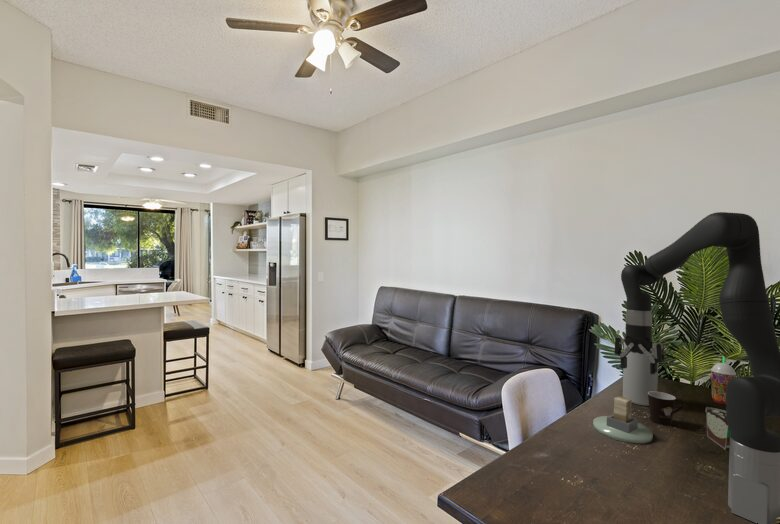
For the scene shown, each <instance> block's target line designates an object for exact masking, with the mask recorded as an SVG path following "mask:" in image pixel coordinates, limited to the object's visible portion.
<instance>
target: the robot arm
mask: <svg viewBox="0 0 780 524" xmlns="http://www.w3.org/2000/svg"><path fill="white" fill-rule="evenodd" d="M760 240H761V239H760V232H759V226H758V224H757V221H756V220H755V219H754V218H753V217H752V216H751V215H749V214H746V213H740V212H738V213H737V212H726V211H724V212H723V211H720V212H719V211H717V212H713V213H711V214H707V215H706V216H705V217H703V218H702V219H701V220H699V221H698V222H697V223H696V224H695V225H694V226H692V227H691V228H690V229H689V230H688V231H686V232H685V233H684V234H682V235H680V237H679V238H678V239H676V240H675V241H673V242H672V243H671V244H670V245H668V246H666V247H665V248H663V249H661V250H659V251H657V252H656V253H653V254H652V255H651V256H648V258H646V260H645V261H644V264H628V265H626V266H624V268H623V269H622V270H621V274H620V281H621V283H622V288H623V290H624V293H625V296H626V312H625V338H622V337H621V336H619V337H616V338H615V340H614V341H615V342H614V351H613V352H614V354H615V355H617V356H619V357H620V366H621V368H622V369H623V368H627V357H626V356H627V355H628V354H629V353H630V352H632V353H639V354H645V355H646V357H648V358H649V360H650V361H651V363H650V374H655V373H656V372H657V363H658V364H659V363H662V362H665V349H664V347H665V346H664V344H663V343H662V342H660V343H657V342H653V316H652V315H653V314H652V297H651V295H650V294H649V293H647V292H643V291H642V289H641V287H640V286H644V287H645V286H651V285H653V284H654V285H655V284H656V283H657V282H658V281H660V280H661V279H662V278H663V277H664V276H665V275H667V274H669V273H671V272H674V271H675V270H678V269H679V268H681V267H682V266H684V265H685V264H686V263H687V262H688V260H689V259H690V257H691V256H692V255H694V254H695V253H696V252H699V251H701V250H704V249H708V248H713V247H716V248H717V247H718V248H726V249H725V250H726V253H727V259H728V265H729V267H728V272H727V274H726V278H725V280H724V282H723V285H722V286H721V289H720V293H719V298H718V300H719V307H720V311H721V318H722V321H723V324H724V325H725V327H726V329H727V330H728V332H729V333H730V334H731V336H732V337H733V338H734V339H735V340H736V342H738V344H739V345H740V347H742V349H743V350H744V351H745V353H746V355H747V358H748V360H749V362H750V367H751V371H752V376H751V375H749V376H747V375H741V376H739V375H738V376H736V377H734V378H732V379H731V380H730V381H729V382H728V384H727V387H726V405H725V411H726V419H727V424H728V427H729V429H730V450H729V453H728V454H729V456H728V458H729V459H728V460H729V461H728V485H727V486H728V487H727V488H728V493H727V494H728V496H727V499H728V500H727V505H728V507H729V509H730V510H731V513H732V514H734V515H737V516H739V517H741V518H743V519H746V520H748V521H750V522H752V523H755V524H757V523H758V524H771V523H774V522H775V521H776V518H777V517H778V516H780V434H778V433H776V432H774V431H772V430H770V429H768V428H767V427H766V417H768V418H771V417H773V418H774V417H775V418H780V346H779V344H778V340H777V339H778V338H777V335H776V329H775V327H774V326H775V325H774V319H773V313H772V309H771V305H770V300H769V296H768V293H767V287H766V281H765V276H764V272H763V271H764V270H763V266H762V256H761V243H760V242H761V241H760ZM624 342H625V344H626V345H627V347H626V348H625V349H624V348H623V351H622V346H623V345H624ZM652 347H654V348H655V350H657V358H656V357H655V355H654V353H653V352H652V351H651V348H652Z"/></svg>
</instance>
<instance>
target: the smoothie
mask: <svg viewBox="0 0 780 524" xmlns="http://www.w3.org/2000/svg"><path fill="white" fill-rule="evenodd" d="M725 359H726V358H725V356H722V362H718V363H715V364H714V365H713V366H712V367H711V368H710V378H711V379H710V382H711V397H712V400H713V402H715V403H717V404H719V405H723V404H724V405H725V406H726V387H727V384H728V382H729V381H730V380H731V379H732V378H734V377H737V372H736V371H735V369H734V368H733V367H732V366H731V365H730V364H728V363H725Z"/></svg>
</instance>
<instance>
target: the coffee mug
mask: <svg viewBox="0 0 780 524" xmlns="http://www.w3.org/2000/svg"><path fill="white" fill-rule="evenodd" d="M648 400H649V406H648V408H649V416H650V419H649V420H650V421H651V422H653V423H654V424H658V425H661V426H671V425H672V424H673V423H672V422H673V417H674V414H675V413H677V412H679V411H681V409H682V408H683V407H684V402H683V400H682V399H679V398H676V397H675V396H674V395H673V394H670V393H666V392H662V391H657V392H656V391H651V392H648ZM677 401H678V402H680V407H678V409H677V408H676V410H675V405H676V402H677Z"/></svg>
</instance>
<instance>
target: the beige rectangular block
mask: <svg viewBox="0 0 780 524" xmlns="http://www.w3.org/2000/svg"><path fill="white" fill-rule="evenodd" d="M613 414H614V419H616V420H619V421H622V422H625V423H629V422H631V418H632V403H631V399H627V398H624V397H623V396H620V395H618V396H616V397H613Z"/></svg>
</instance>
